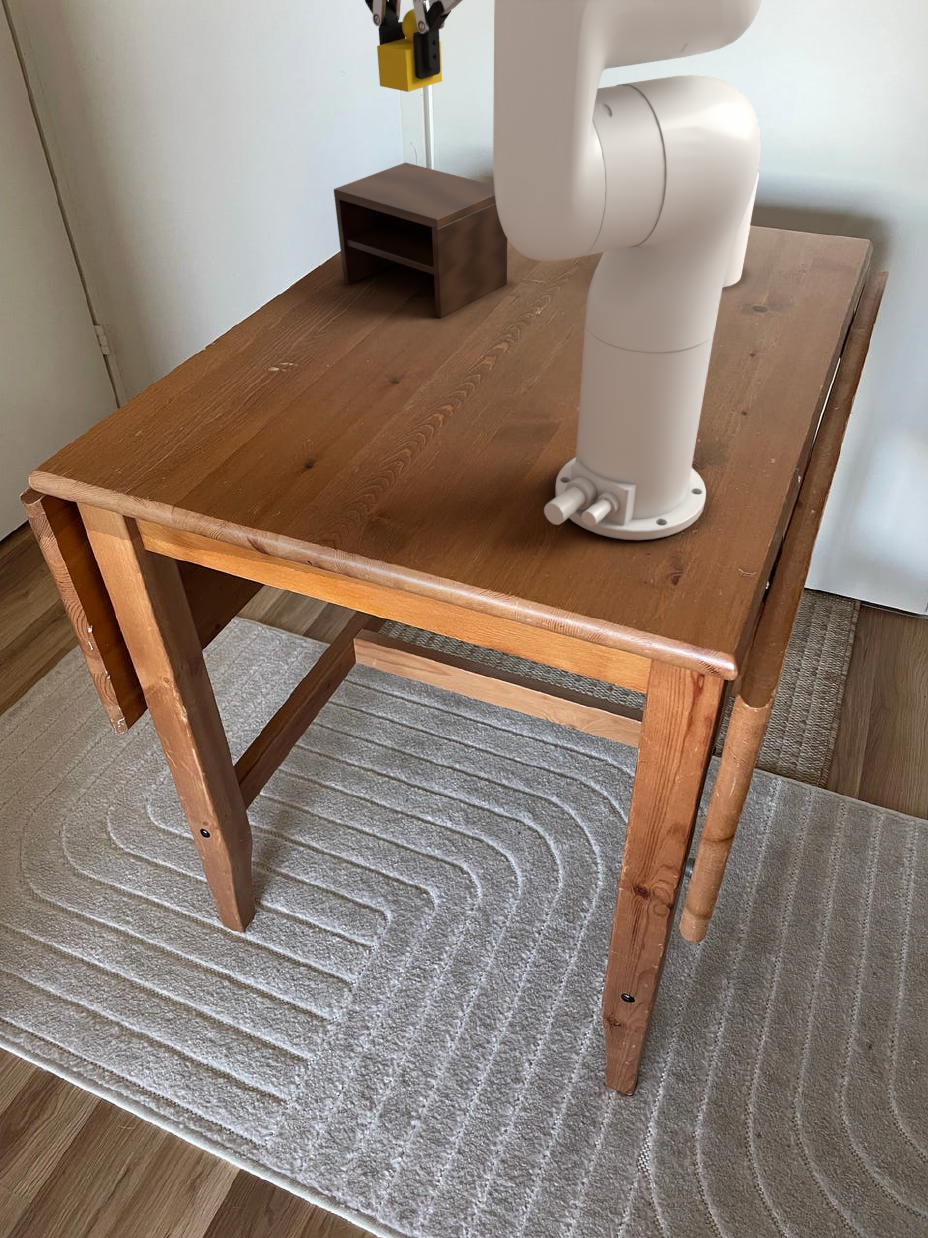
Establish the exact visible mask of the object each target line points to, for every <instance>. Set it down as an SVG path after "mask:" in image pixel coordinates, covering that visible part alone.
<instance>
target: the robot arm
mask: <svg viewBox="0 0 928 1238" xmlns="http://www.w3.org/2000/svg"><path fill="white" fill-rule="evenodd" d="M364 2H365V5H366V6H367V8H368V9H369V11H370V13H371V14H372V22H373V24H374V25H375V26H376V27H378V40H379V45H382V44H386V43H390V42H394V41H397V40H401V39H405V38H406V37H405V35H404V33H403V30H402V22H403V21H400V17H401V16H400V15H401V4H402V0H364ZM461 2H463V0H428V5H429V8H428V7H427V0H412V5H413V9H414V11H415V17H416V23H417V29H418V31H419V32H416V33H413V47H414V59H415V75H416V78H418V79H424V78H428V77H431V76H434V75H437V74H439V73H440V43H439V41H440V30H442V29H443V28H445V24H446V23H445V21H446V20H447V18H448V17H449V15H450V14H451V12H452V10H454V9H455V8H456V7H457V6H458V5H460V3H461ZM493 3H494V7H493V8H494V10H493V11H494V12H493V14H494V15H493V19H494V20H493V117H492V118H493V119H492V121H493V123H492V125H493V127H492V174H493V175H492V176H493V185H494V191H495V199H496V206H497V211H498V216H499V220H500V223H501V226H502V228H503V231H504V233H505V235H506V237H507V241H508V243H509V244H510V245H511V247H513V249H515V251H517V252H518V253H519V254H520V255H522V256H524V257H525V258H527V259H530V260H533V261H538V262H559V261H565V260H571V259H578V258H582V257H588V256H593V255H598V254H602V255H601V257H600V259H599V261H598V263H597V266H596V268H595V270H594V272H593V275H592V279H591V282H590V284H589V289H588V292H587V297H586V305H585V318H584V332H583V344H582V345H583V346H582V360H581V361H582V362H581V376H580V391H579V406H578V421H577V435H576V451H575V457H573V458H572V459H571V460H569V461H568V462H566V463H565V464H564V466H563V467H561V469H560V470H559V472H558V474H557V477H556V481H555V489H554V491H555V492H554V493H555V497H554V498H552V499H551V500H550V501H549V502H547V503H546V504H545V506H544V507H543V513H544V516H545V517H546V519H547V520H548V522H549V523H551V524H552V525H554V526H555V525H556V526H560V525H561V524H562V523H564V522H565V521H566V520H568V519H569V520H570V521H571V522H573V523H575V525H578V526H580V527H581V528H583V529H585V530H587V531H589V532H593V533H595V534H596V535H600V536H604V537H607V538H613V539H620V540H626V541H627V540H628V541H629V540H630V541H644V540H655V539H659V538H664V537H669V536H671V535H674V534H677V533H680V532H682V531H684V530H685V529H687V528H689V527H690V526H692V525H693V524H694V523H695V522H697V520H698V519H699V517H700V516H701V515H702V514H703V511H704V507H705V503H706V499H707V497H706V496H707V489H706V485H705V482H704V480H703V479H702V477H701V475H700V474H699V473H698V472H697V471H696V470H695V469H694V468H693V462H694V461H693V460H694V455H695V449H696V443H697V437H698V431H699V426H700V421H701V420H700V419H701V414H702V409H703V402H704V395H705V390H706V384H707V380H708V379H707V378H708V372H709V366H710V360H711V355H712V348H713V342H714V336H715V331H716V326H717V320H718V315H719V310H720V305H721V298H722V293H723V288H724V287H723V283H724V278H725V274H726V270H727V266H728V262H729V258H730V255H731V251H732V248H733V245H734V242H735V239H736V236H737V233H738V230H739V227H740V225H741V222H742V219H743V217H744V214H745V212H746V209H747V206H748V204H749V201H750V198H751V195H752V192H753V189H754V186H755V182H756V178H757V174H758V173H759V169H760V164H761V156H762V136H761V135H762V134H761V128H760V124H759V119H758V116H757V114H756V111H755V109H754V107H753V105H752V103H751V102H750V101H749V99H748V98H747V96H746V95H745V94H744V93H743V92H742V91H741V90H739V88H738V87H736V86H735V85H733V84H731V83H730V82H727V81H725V80H722V79H719V78H717V77H713V76H709V75H707V76H706V75H698V74H697V75H694V74H691V75H690V74H687V75H674V76H667V77H660V78H652V79H645V80H640V81H632V82H627V83H626V82H625V83H620V84H616V85H611V86H606V87H599V85H600V81H601V77H602V74H603V72H604V71H605V70H607V69H615V68H622V67H628V66H629V67H630V66H635V65H641V64H649V63H655V62H662V61H668V60H669V61H670V60H674V59H675V60H676V59H680V58H687V57H692V56H696V55H702V54H706V53H710V52H713V51H714V52H715V51H718V50H721V49H723V48H725V47H728V46H729V45H730V44H733V43H734V42H736V41H737V40H738V39H740V38H741V37H742V36H743V35H744V34H745V33H746V31H748V30H749V28H750V27H751V26H752V24H753V22H754V21H755V18H756V16H757V14H758V12H759V9H760V6H761V4H762V0H494V2H493Z"/></svg>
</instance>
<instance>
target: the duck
mask: <svg viewBox="0 0 928 1238" xmlns="http://www.w3.org/2000/svg"><path fill="white" fill-rule="evenodd" d="M401 22H402V30H403V33H404V35H405V39H401V40H397V41H394V42H390V43H386V44H382V45H380V44H378V45H377V46H376V49H377V50H376V53H377V65H378V78H379V79H378V80H379V86H380V87H383V88H388V89H391V90H392V89H393V90H397V91H402V92H405V93H409V92H411V91H412V92H413V91H416V90H418V89H421V88H424V87H428V86H431V85H434V84H438V83H441V82H443V71H442V70H443V69H442V67H443V66H442V42H441V40H439V43H440V73H439V74H437V75H434V76H431V77H428V78H424V79H418V78H416V75H415V59H414V47H413V33H416V32H419V31H418V29H417V23H416V17H415V11H414V8H411V9H410V10H409V11H407V12H406V13H405V15H403V18H402V21H401Z"/></svg>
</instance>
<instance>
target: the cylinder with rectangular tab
mask: <svg viewBox="0 0 928 1238" xmlns="http://www.w3.org/2000/svg"><path fill="white" fill-rule="evenodd" d="M759 177H760V172H758V174H757V178H756V182H755V186H754V189H753V192H752V195H751V198H750V201H749V204H748V206H747V209H746V212H745V214H744V217H743V219H742V222H741V225H740V227H739V230H738V233H737V236H736V239H735V242H734V245H733V248H732V251H731V255H730V258H729V262H728V266H727V270H726V274H725V278H724V283H723V288H728V287H731V286H733V285H735V284H737V283H738V282H739V281H740V280H741V278H742V274H743V269H744V264H745V258H746V252H747V247H748V242H749V235H750V229H751V222H752V217H753V210H754V206H755V205H754V204H755V200H756V194H757V188H758V183H759Z"/></svg>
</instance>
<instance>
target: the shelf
mask: <svg viewBox="0 0 928 1238" xmlns="http://www.w3.org/2000/svg"><path fill="white" fill-rule="evenodd" d="M333 196H334V205H335V213H336V223H337V231H338V240H339V248H340V249H339V250H340V258H341V266H342V267H341V268H342V275H343V282H344V284H347V285H350V284H352V283H355V282H357V281H359V280H361V279H364V278H366V277H368V276H371V275H372V274H373V275H374V273H377V272H379V271H381V270H384V269H385V268H386V269H387V268H388V267H390V266H393V265H395V264H396V263H397V264H401V265H404V266H406V267H410V268H413V269H416V270H418V271H420V272H421V271H422V272H425V273H428V274H431V275H433V278H434V279H433V280H434V282H433V283H434V300H435V301H434V302H435V317H437V318H439V319H443V318H444V317H446V316H448V315H450V314H452V313H453V312H456V311H458V310H461V309H462V308H463V307H465V306H467V305H469V304H471V303H473V302H475V301H477V300H479V299H480V298H483V297H484V296H487V295H488V294H490V293H492V292H494V291H496V290H498V289H500V288H502V287H504V286H506V285H507V284H508V239H507V237H506V235H505V233H504V231H503V228H502V226H501V223H500V220H499V216H498V211H497V206H496V199H495V191H494V184H490V183H486V182H481V181H478V180H475V179H471V178H467V177H463V176H459V175H455V174H452V173H448V172H444V171H440V170H436V169H432V168H428V167H425V166H421V165H417V164H413V163H409V162H403V163H401V164H398V165H395V166H391V167H390V168H386V169H383V170H381V171H379V172H376V173H374V174H370V175H368V176H365V177H363V178H359V179H357V180H354V181H351V182H349V183H346V184H344V185H341V186H339V187H338V186H337V187H335V188H333Z"/></svg>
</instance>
